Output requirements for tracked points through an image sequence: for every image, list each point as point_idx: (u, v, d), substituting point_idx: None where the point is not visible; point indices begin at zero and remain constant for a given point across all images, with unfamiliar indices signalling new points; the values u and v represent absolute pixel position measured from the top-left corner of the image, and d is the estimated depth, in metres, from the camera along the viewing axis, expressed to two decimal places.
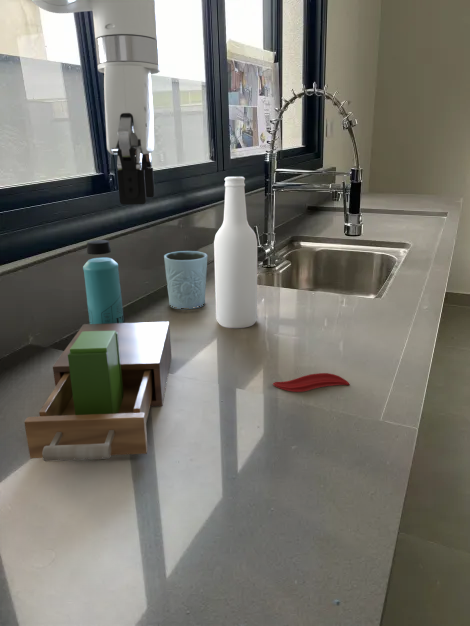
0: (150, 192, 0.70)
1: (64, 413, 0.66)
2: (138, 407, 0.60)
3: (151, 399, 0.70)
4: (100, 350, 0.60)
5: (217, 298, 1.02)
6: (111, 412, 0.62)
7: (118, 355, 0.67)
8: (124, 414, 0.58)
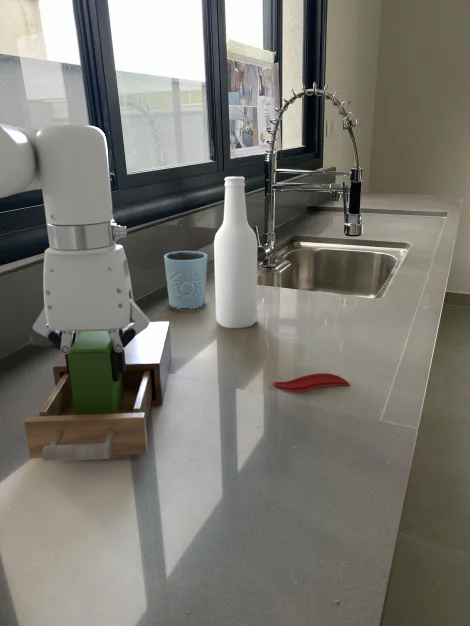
0: (112, 376, 0.63)
1: (64, 413, 0.66)
2: (138, 407, 0.60)
3: (151, 399, 0.70)
4: (100, 350, 0.60)
5: (217, 298, 1.02)
6: (111, 412, 0.62)
7: None
8: (124, 414, 0.58)
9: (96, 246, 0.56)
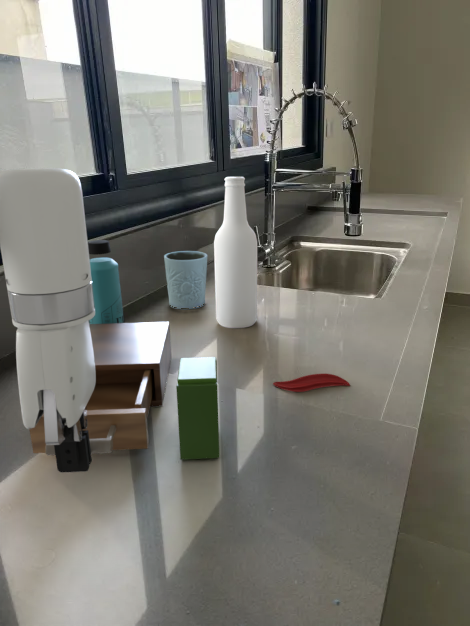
0: None
1: None
2: (139, 403, 0.61)
3: None
4: (209, 381, 0.56)
5: (217, 298, 1.02)
6: (217, 445, 0.58)
7: (216, 382, 0.63)
8: (125, 410, 0.59)
9: None
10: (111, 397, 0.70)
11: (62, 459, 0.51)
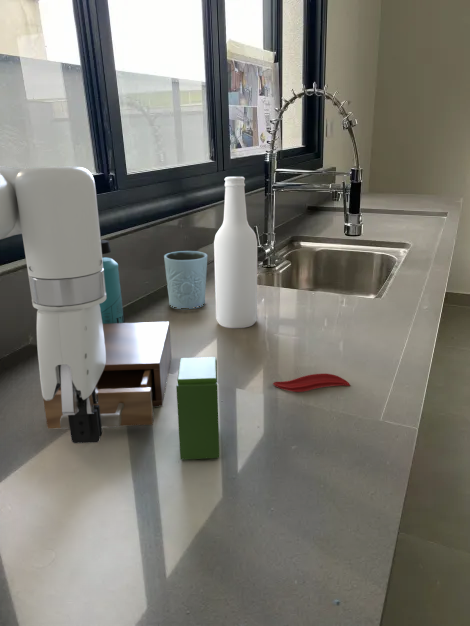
0: None
1: None
2: (145, 383, 0.66)
3: None
4: (209, 381, 0.56)
5: (217, 298, 1.02)
6: (217, 445, 0.58)
7: (216, 382, 0.63)
8: (132, 389, 0.64)
9: None
10: (118, 380, 0.75)
11: (76, 430, 0.56)
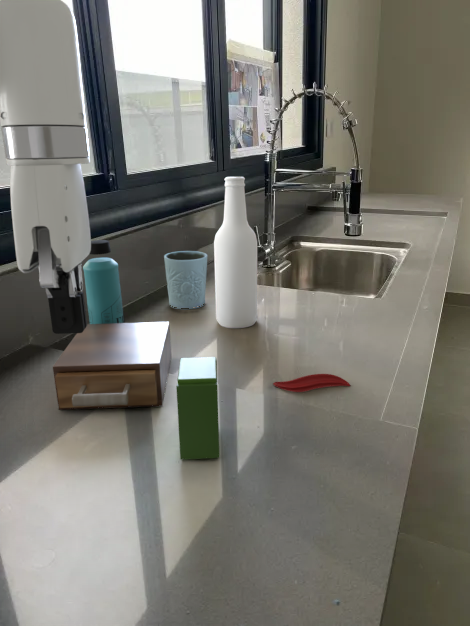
0: None
1: None
2: None
3: None
4: (209, 381, 0.56)
5: (217, 298, 1.02)
6: (217, 445, 0.58)
7: (216, 382, 0.63)
8: (138, 371, 0.69)
9: None
10: None
11: (57, 317, 0.50)
